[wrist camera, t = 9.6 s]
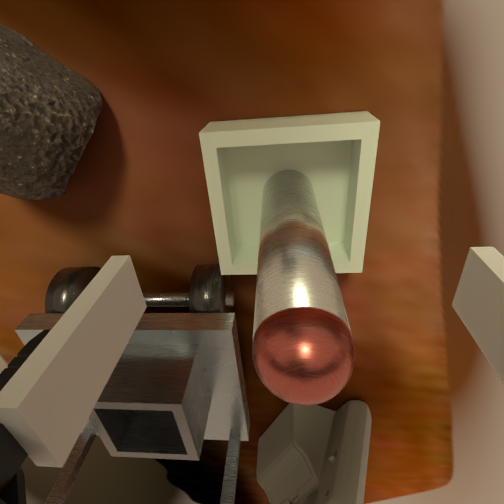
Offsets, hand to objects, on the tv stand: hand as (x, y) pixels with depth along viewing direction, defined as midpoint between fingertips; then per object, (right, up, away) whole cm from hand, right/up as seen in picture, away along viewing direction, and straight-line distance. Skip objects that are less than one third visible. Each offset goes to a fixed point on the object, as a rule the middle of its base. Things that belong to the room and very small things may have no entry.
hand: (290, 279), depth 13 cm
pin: (+1, +5, +8) cm, 9 cm away
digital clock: (+5, -18, +23) cm, 29 cm away
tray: (+1, +5, +8) cm, 10 cm away
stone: (-15, +10, +7) cm, 19 cm away
